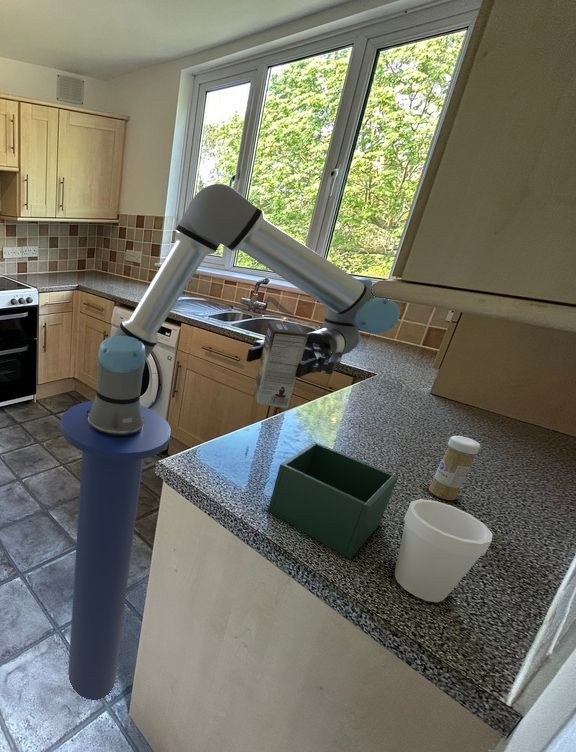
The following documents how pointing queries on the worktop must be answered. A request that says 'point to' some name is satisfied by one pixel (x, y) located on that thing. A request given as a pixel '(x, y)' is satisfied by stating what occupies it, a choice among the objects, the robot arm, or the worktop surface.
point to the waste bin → (331, 497)
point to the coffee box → (279, 363)
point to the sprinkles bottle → (454, 467)
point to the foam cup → (438, 548)
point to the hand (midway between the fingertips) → (272, 362)
